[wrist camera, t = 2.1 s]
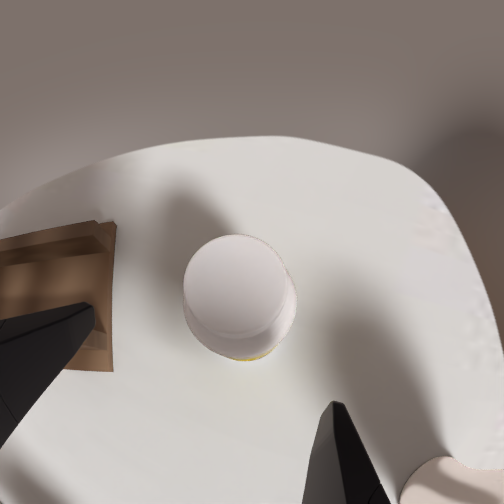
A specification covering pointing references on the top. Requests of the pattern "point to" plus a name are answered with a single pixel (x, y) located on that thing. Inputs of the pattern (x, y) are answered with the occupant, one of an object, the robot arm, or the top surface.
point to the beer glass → (453, 484)
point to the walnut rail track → (63, 281)
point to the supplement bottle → (238, 297)
